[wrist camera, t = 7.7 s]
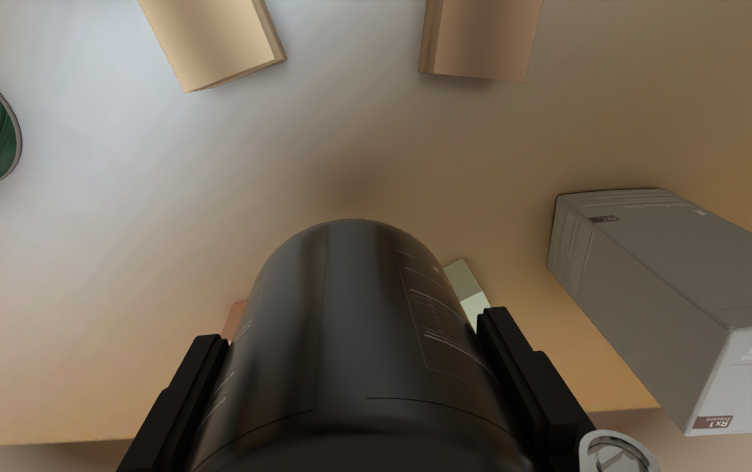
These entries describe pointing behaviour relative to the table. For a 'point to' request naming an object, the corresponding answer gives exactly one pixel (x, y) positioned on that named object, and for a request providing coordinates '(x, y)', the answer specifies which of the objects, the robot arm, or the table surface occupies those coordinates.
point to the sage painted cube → (467, 290)
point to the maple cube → (214, 39)
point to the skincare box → (665, 298)
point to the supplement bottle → (357, 367)
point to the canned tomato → (8, 139)
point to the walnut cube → (479, 38)
